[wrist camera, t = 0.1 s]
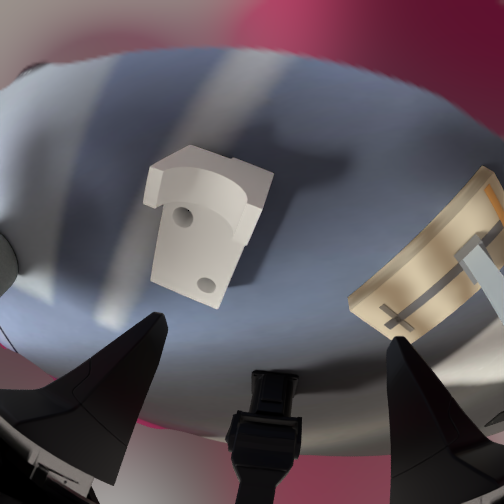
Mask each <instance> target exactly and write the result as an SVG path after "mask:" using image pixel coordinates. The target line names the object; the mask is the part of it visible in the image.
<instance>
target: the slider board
mask: <svg viewBox="0 0 504 504" xmlns="http://www.w3.org/2000/svg"><path fill="white" fill-rule="evenodd" d="M475 234H476V235H477V236H478V237H479V238H480V239H481V240H482V242H483V244H484V245H485V247H486V249H487V251H488V253H489V254H490V256H491V258H492V260H493V262H494V264H495V266H496V267H497V268H498V270H500V269H501V268H502V267H503V266H504V190H503V188H502V186H501V184H500V182H499V181H498V179H497V177H496V175H495V173H494V172H493V171H491V170H489V169H488V168H486V167H484V166H483V165H482V166H481V167H480V168H479V170H478V171H477V172H476V173H475V174H474V176H473V177H472V178H471V179H470V180H469V181H468V183H467V184H466V185H465V186H464V187H463V188H462V189H461V190H460V192H459V193H458V194H457V195H456V196H455V197H454V198H453V199H452V200H451V201H450V203H449V204H448V205H447V206H446V207H445V208H444V209H443V210H442V211H441V212H440V213H439V214H438V215H437V216H436V217H435V218H434V219H433V220H432V221H431V222H430V223H429V224H428V225H427V226H426V227H425V228H424V229H423V230H422V231H421V232H420V233H419V234H418V235H417V236H416V237H415V238H414V239H413V240H412V241H411V242H410V243H409V244H408V245H407V246H406V247H405V248H404V249H403V250H401V251H400V252H399V253H398V254H397V255H396V256H395V257H394V258H393V259H392V260H391V261H389V262H388V263H387V264H386V265H385V266H384V267H383V268H382V269H380V270H379V271H378V272H377V273H376V274H375V275H374V276H372V277H371V278H370V279H369V280H368V281H367V282H365V283H364V284H363V285H362V286H361V287H360V288H358V289H357V290H356V291H355V292H353V293H352V294H351V295H350V296H349V297H348V302H349V309H350V311H351V312H352V313H354V314H355V315H356V316H358V317H359V318H361V319H362V320H363V321H365V322H366V323H368V324H369V325H371V326H372V327H373V328H375V329H376V330H378V331H379V332H381V333H382V334H383V335H385V336H386V337H388V338H389V339H390V340H392V339H393V338H394V337H395V336H404V337H406V339H407V340H408V341H409V342H410V343H413V342H414V341H416V340H417V339H418V338H420V337H421V336H423V335H424V334H425V333H427V332H428V331H429V330H431V329H432V328H433V327H435V326H436V325H437V324H439V323H440V322H441V321H443V320H444V319H445V318H446V317H448V316H449V315H450V314H451V313H453V312H454V311H455V310H456V309H457V308H459V307H460V306H461V305H462V304H463V303H465V302H466V301H467V300H468V299H469V298H470V297H471V296H473V295H474V294H475V293H476V292H477V291H478V290H479V289H480V288H481V286H480V285H479V283H478V282H477V283H476V284H475V285H474V284H473V283H472V281H471V280H470V278H469V277H468V275H467V274H466V273H465V271H464V270H463V268H462V267H461V265H460V264H459V263H458V261H457V260H456V258H455V257H454V255H455V254H456V253H457V252H458V251H459V250H460V249H461V248H462V247H463V246H464V245H465V244H466V243H467V242H468V241H469V240H470V239H471V238H472V237H473V236H474V235H475Z"/></svg>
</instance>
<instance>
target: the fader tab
mask: <svg viewBox="0 0 504 504" xmlns="http://www.w3.org/2000/svg"><path fill="white" fill-rule="evenodd" d="M454 257H455V258H456V260H457V261H458V263H459V264H460V265H461V267H462V268H463V270H464V271H465V273H466V274H467V275H468V277H469V278H470V280H471V281H472V283H473V284H474V285H475V284H476V283H477V282H478V283H479V285H480V286H481V288H482V289H483V291H484V293H485V294H486V296H487V298H488V299H489V301H490V303H491V304H492V306H493V308H494V309H495V311H496V313H497V315H498V316H499V318H500V320H501V322H502V324H503V326H504V276H503V275H502V274H501V272H500V271H499V270H498V268H497V267H496V266H495V264H494V262H493V260H492V258H491V256H490V254H489V253H488V251H487V249H486V247H485V245H484V244H483V242H482V240H481V239H480V238H479V237H478V236H477V235H476V234H475V235H474V236H473V237H472V238H471V239H470V240H469V241H468V242H467V243H466V244H465V245H464V246H463V247H462V248H461V249H460V250H459V251H458V252H457V253H456V254H455V255H454Z"/></svg>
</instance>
